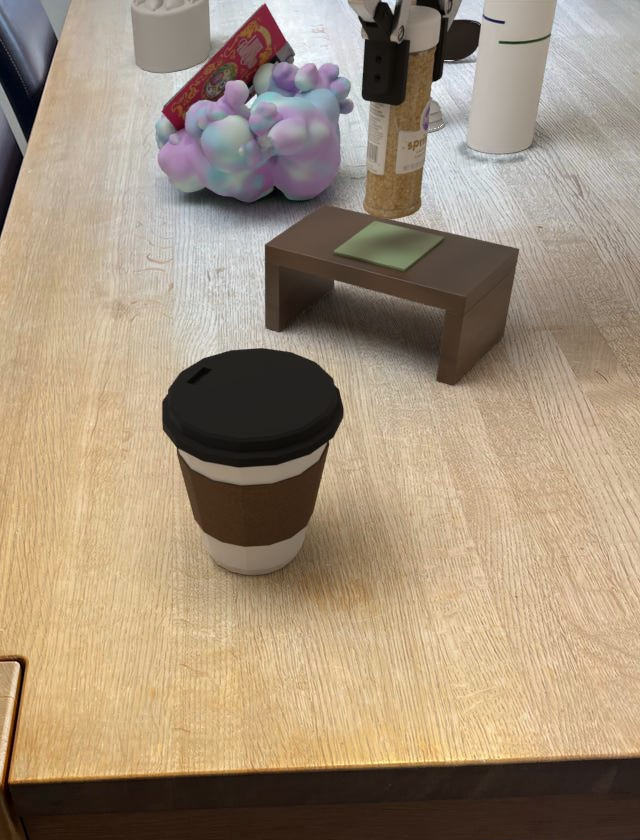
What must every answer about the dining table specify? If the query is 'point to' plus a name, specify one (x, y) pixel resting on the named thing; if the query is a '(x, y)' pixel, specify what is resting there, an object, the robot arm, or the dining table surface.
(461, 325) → the low table
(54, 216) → the dining table surface
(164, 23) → the lumpy-topped squat cylinder
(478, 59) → the cylindrical container
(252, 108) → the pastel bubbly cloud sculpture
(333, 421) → the coffee cup
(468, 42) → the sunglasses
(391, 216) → the brown spice jar
